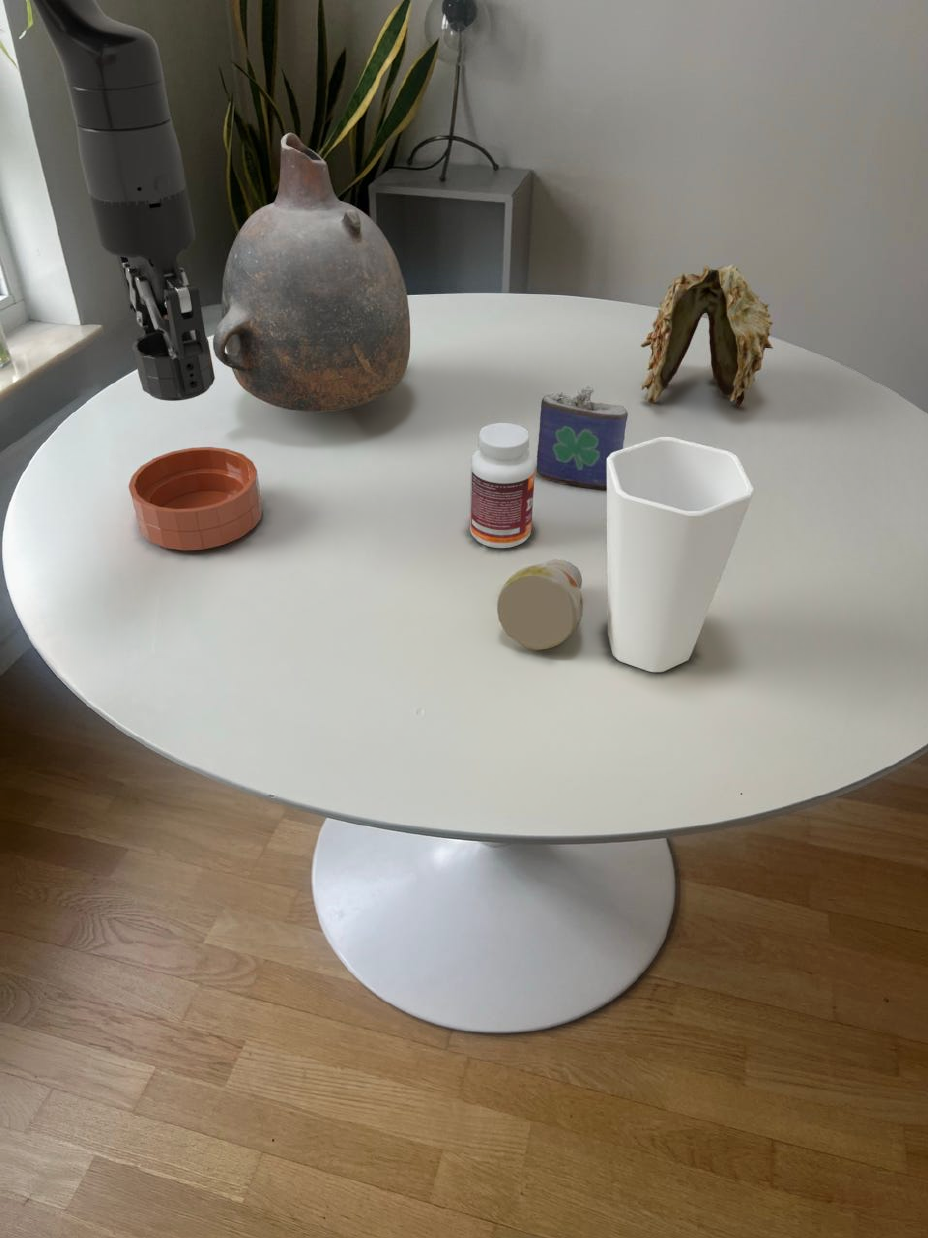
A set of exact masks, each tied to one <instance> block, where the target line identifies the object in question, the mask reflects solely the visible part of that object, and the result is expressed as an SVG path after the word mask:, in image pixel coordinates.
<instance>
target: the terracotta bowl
mask: <svg viewBox="0 0 928 1238" xmlns="http://www.w3.org/2000/svg"><path fill="white" fill-rule="evenodd" d="M259 482H260V481H259V475H258V470H257V467H256V466H255V464H254V462H253V460H252V459H250V458H248V457H247V456H246V455H244V454H242V453H240V452H238V451H235V450H232V449H229V448H222V447H214V446H199V447H188V448H184V449H178V450H173V451H170V452H167V453H165V454H162V455H159V456H156V457H154V458H152V459H150V460H149V461H147V462H145V463H144V464H142V465H140V467H139V468H138V469H137V470H136V471H135V472H134V473H133V474H132V476H131V478H130V481H129V484H128V490H129V494H130V498H131V502H132V505H133V510H134V513H135V517H136V521H137V524H138V528H139V531H140V533H141V535H142V536H144V537H145V538H146V539H147V541H149V542H150V543H152V544H154V545H157V546H160V547H161V548H165V549H169V550H178V551H200V550H208V549H214V548H217V547H221V546H223V545H227V544H229V543H231V542H233V541H236V540H239V539H241V538H242V537H244V536H245V535H246V534H248V533H249V532H250V531H252V530H253V529H254V528H255V527H256V526H257V524H258V523H259V521H260V520H261V519H262V515H263V513H262V512H263V501H262V494H261V488H260V483H259Z"/></svg>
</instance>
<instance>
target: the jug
mask: <svg viewBox="0 0 928 1238" xmlns="http://www.w3.org/2000/svg"><path fill="white" fill-rule="evenodd" d="M279 169H280V170H279V171H280V173H279V181H278V182H279V183H278V190H277V193H276V197H275V199H274V201H273V202H272V203H269V204H267V205H264V206H262V207H260V208H259V209H257V210H256V211H254V213H252V214H251V215H250V216H249V217H248V218H247V220H246V221H245V222H244V223H243V225H242V226H241V228H240V230H239V232H237V235H236V237H235V239H234V241H233V244H232V246H231V248H230V251H229V253H228V256H227V260H226V263H225V267H224V271H223V277H222V291H221V321H220V322H219V323H218V325H217V327H216V328H215V330H214V333H213V334H214V335H213V338H212V349H213V353H214V356H215V358H217V359H218V361H220V362H221V363H222V364H224V365H225V366H227V367H228V368H231V370H232V373H233V375H234V378H235V380H236V381H237V383H238V384H239V385H240V387H242V389H244V390H245V391H246V392H247V393H248V394H250V395H251V396H253V397H255V398H257V399H258V400H261V401H263V402H265V403H267V404H269V405H271V406H274V407H277V408H281V409H284V410H285V409H286V410H290V411H298V412H309V413H310V412H311V413H313V412H314V413H315V412H317V413H319V412H320V413H321V412H323V413H325V412H335V411H343V410H349V409H352V408H356V407H359V406H362V405H364V404H367V403H369V402H372V401H374V400H377V399H379V398H381V397H383V396H385V395H388V394H389V393H391V392H392V391H394V390H395V388H396V387H398V386H399V384H400V383H401V382H402V380H403V378H404V376H405V374H406V370H407V367H408V362H409V359H410V353H411V319H410V318H411V317H410V308H409V307H410V306H409V300H408V299H409V298H408V293H407V287H406V282H405V278H404V276H403V274H402V270H401V267H400V264H399V261H398V259H397V256H396V254H395V252H394V250H393V248H392V246H391V245H390V243H389V241H388V239H387V238H386V236H385V235H384V233H383V231H382V230H381V228H380V227H379V226H378V225H377V224H376V223H375V221H374V220H373V219H372V218H371V217H370V216H369V215H368V214H366V213H365V212H364V211H362V210H361V209H359V208H357V207H356V206H354V205H352V204H350V203H348V202H345V201H341V200H340V199H339V198H338V197H337V195H336V193H335V191H334V188H333V184H332V182H331V177H330V173H329V168H328V164H327V162H326V161H325V160H324V159H323V158H322V157H321V156H320V155H319V154H318V153H317V152H315V151H314V150H312V149H311V148H309V147H307V146H306V145H305V144H303V142H302V141H301V140H300V138H299V137H298V136H297V135H296V134H295V133H292V132H288V133H286V134H285V135H284V136H282V137H281V140H280V168H279Z"/></svg>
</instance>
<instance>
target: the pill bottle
mask: <svg viewBox="0 0 928 1238" xmlns="http://www.w3.org/2000/svg"><path fill="white" fill-rule="evenodd" d="M477 445H478V449H477V450H476V451H475V452H474V454H473V455H472V456H471V461H470V482H469V483H470V488H469V489H470V491H469V492H470V494H469V497H470V498H469V531H470V534H471V536H472V537H473V539H475V540H476V541H477V542H478V543H480V544H481V545H484V546H486V547H489V548H494V549H509V548H513V547H516V546H520V545H522V544H523V543H525V542H526V541H527V540H528V539H529V537H530V536H531V533H532V532H531V531H532V527H533V525H532V524H533V507H534V491H535V478H536V460H535V457H534V456H533V454H532V453H531V452H530V451H529V448H530V434H529V432H528V430H527V429H525V427H523V426H520V425H518V424H515V423H510V422H496V423H491V424H487V425H486V426H484V427H482V429H481V430H480V431H479V434H478V444H477Z"/></svg>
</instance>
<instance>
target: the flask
mask: <svg viewBox="0 0 928 1238" xmlns="http://www.w3.org/2000/svg"><path fill="white" fill-rule="evenodd" d="M594 391H595V389H594V388H593V387H590V386H589V385H588V386H586V387H585V388H584V387H583V388H582V387H581V388H579V389H578V391H577V394H578V395H575V396H574V397H571V396H570V395H569V394H563V392H562V391H560V392H558V393H547V394H546V395H545V394H544V395H543V398H541V402H540V416H539V431H538V441H537V442H538V443H537V451H536V475H537V476H539V478H543V479H544V480H547V481H552V482H555V483H559V484H563V485H569V486H575V487H576V486H577V487H580V488H581V487H583V488H589V489H594V490H599V491H601V490H602V491H603V490H604V491H605V490H607V458H608V457H609V455H610V454H611V453H612V452H615V451H618V450H621V449H624V442H625V438H626V437H625V434H626V428H627V423H628V422H627V421H628V417H629V414H628V413H629V411H628V410H627V408H626V407H625V406H623V405H620V404H610V403H602V402H593V401H592V400H591V396H592V394H593V393H594Z"/></svg>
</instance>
